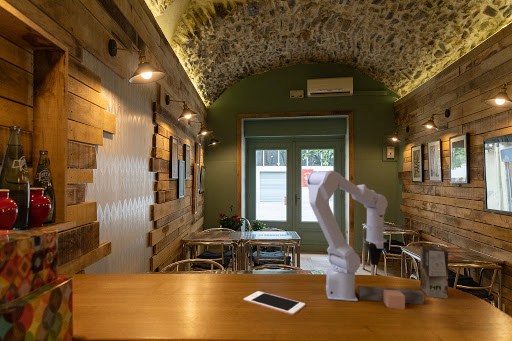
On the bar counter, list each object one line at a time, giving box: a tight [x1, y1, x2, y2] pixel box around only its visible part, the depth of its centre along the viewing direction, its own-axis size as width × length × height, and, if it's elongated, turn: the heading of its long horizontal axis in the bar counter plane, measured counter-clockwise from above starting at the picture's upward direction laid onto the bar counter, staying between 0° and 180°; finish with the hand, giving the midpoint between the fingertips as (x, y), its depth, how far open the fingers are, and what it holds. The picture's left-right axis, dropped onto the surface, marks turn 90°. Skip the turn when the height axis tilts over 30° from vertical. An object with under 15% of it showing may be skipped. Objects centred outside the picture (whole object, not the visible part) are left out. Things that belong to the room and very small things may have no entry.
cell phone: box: [243, 290, 306, 316], centre depth 96 cm, size 9×18×1 cm, turn 56°
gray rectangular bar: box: [357, 285, 424, 305], centre depth 101 cm, size 20×3×4 cm, turn 83°
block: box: [382, 290, 406, 310], centre depth 97 cm, size 5×5×4 cm
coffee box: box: [419, 245, 449, 299], centre depth 109 cm, size 9×6×16 cm
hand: (374, 264), depth 109 cm, fingers closed
